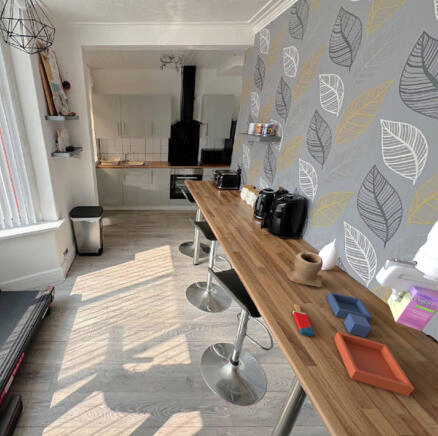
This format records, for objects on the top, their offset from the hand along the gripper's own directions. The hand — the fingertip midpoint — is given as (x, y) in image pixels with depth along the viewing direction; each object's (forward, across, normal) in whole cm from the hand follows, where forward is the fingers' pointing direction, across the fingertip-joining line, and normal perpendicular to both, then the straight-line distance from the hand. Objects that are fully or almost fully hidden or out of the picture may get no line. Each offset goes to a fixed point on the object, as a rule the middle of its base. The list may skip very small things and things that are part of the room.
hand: (411, 304), depth 69 cm
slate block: (+22, -4, +9) cm, 24 cm away
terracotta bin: (+22, -5, -6) cm, 23 cm away
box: (+5, 0, 0) cm, 5 cm away
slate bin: (+22, -3, +19) cm, 29 cm away
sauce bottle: (+22, -3, +50) cm, 54 cm away
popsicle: (+22, -21, +7) cm, 32 cm away
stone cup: (+22, -15, +34) cm, 43 cm away
